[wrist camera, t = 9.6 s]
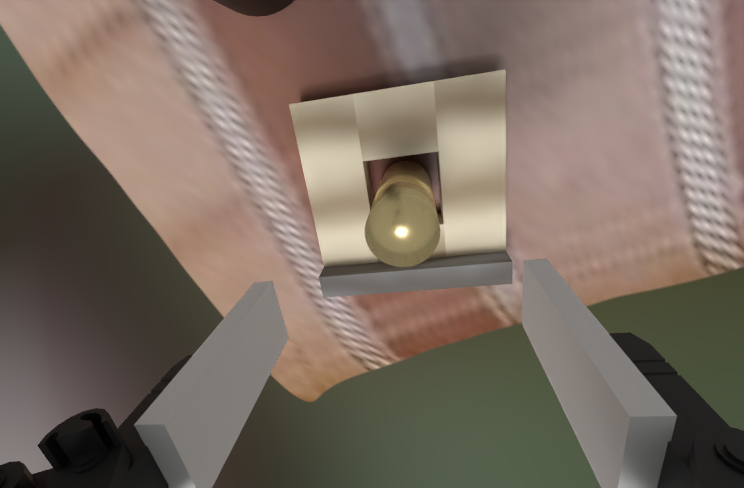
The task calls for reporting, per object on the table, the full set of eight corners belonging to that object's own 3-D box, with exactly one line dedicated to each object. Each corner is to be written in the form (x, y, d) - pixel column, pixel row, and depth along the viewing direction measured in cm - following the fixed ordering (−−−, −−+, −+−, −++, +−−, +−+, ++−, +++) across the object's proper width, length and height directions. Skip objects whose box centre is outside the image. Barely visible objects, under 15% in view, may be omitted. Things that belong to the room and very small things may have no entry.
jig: (300, 103, 30) (279, 104, 25) (496, 72, 27) (513, 66, 23) (334, 271, 36) (323, 297, 31) (498, 257, 33) (512, 283, 28)
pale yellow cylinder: (377, 163, 31) (359, 201, 20) (428, 157, 30) (437, 192, 19) (384, 211, 32) (370, 269, 22) (432, 206, 32) (442, 263, 21)
